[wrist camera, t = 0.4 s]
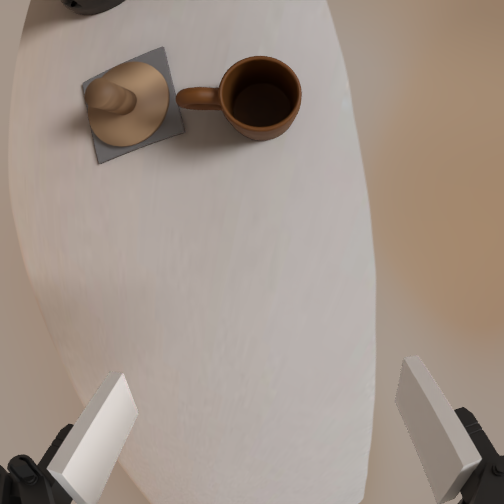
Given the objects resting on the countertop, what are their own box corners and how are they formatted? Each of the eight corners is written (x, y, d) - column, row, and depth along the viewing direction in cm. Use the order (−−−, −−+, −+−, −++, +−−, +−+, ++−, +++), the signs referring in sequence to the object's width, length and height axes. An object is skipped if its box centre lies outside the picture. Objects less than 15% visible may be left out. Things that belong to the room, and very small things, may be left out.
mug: (191, 141, 36) (167, 134, 26) (193, 81, 34) (171, 58, 24) (294, 142, 35) (302, 135, 26) (295, 81, 33) (303, 55, 24)
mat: (84, 83, 34) (82, 83, 33) (164, 47, 32) (162, 46, 32) (101, 163, 37) (99, 163, 36) (185, 132, 35) (183, 131, 35)
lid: (85, 84, 33) (51, 72, 25) (159, 51, 32) (135, 28, 24) (101, 158, 36) (66, 159, 28) (178, 129, 35) (156, 120, 27)
